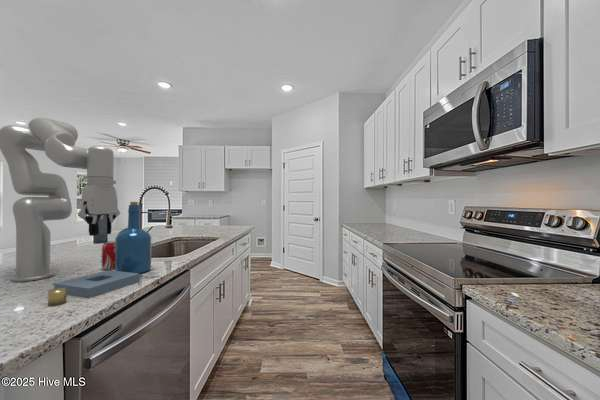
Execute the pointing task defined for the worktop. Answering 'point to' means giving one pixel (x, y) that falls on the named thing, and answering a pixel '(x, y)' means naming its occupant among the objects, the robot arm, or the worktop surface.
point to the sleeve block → (98, 283)
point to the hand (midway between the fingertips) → (100, 234)
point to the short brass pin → (57, 297)
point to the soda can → (108, 255)
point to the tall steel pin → (101, 229)
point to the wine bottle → (133, 245)
